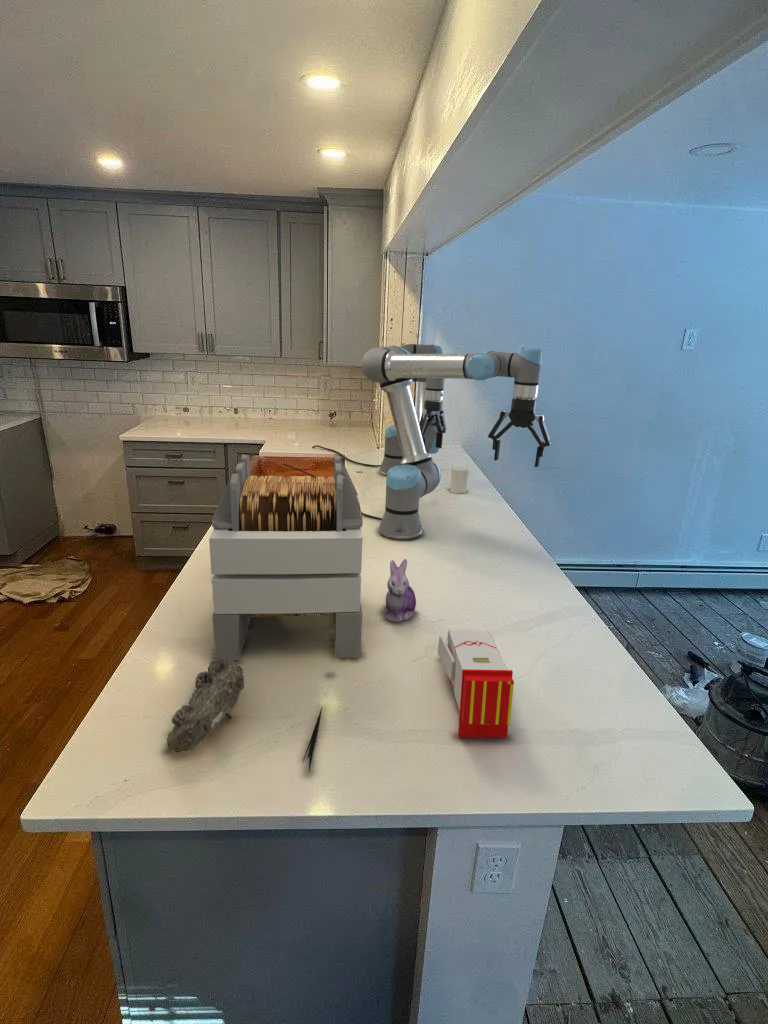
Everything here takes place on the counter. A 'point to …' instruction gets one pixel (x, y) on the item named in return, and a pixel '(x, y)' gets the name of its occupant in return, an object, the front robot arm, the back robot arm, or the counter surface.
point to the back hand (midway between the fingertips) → (430, 450)
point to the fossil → (206, 705)
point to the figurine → (399, 594)
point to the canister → (459, 479)
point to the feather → (313, 740)
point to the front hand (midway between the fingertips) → (516, 462)
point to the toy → (478, 682)
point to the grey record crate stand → (286, 555)
